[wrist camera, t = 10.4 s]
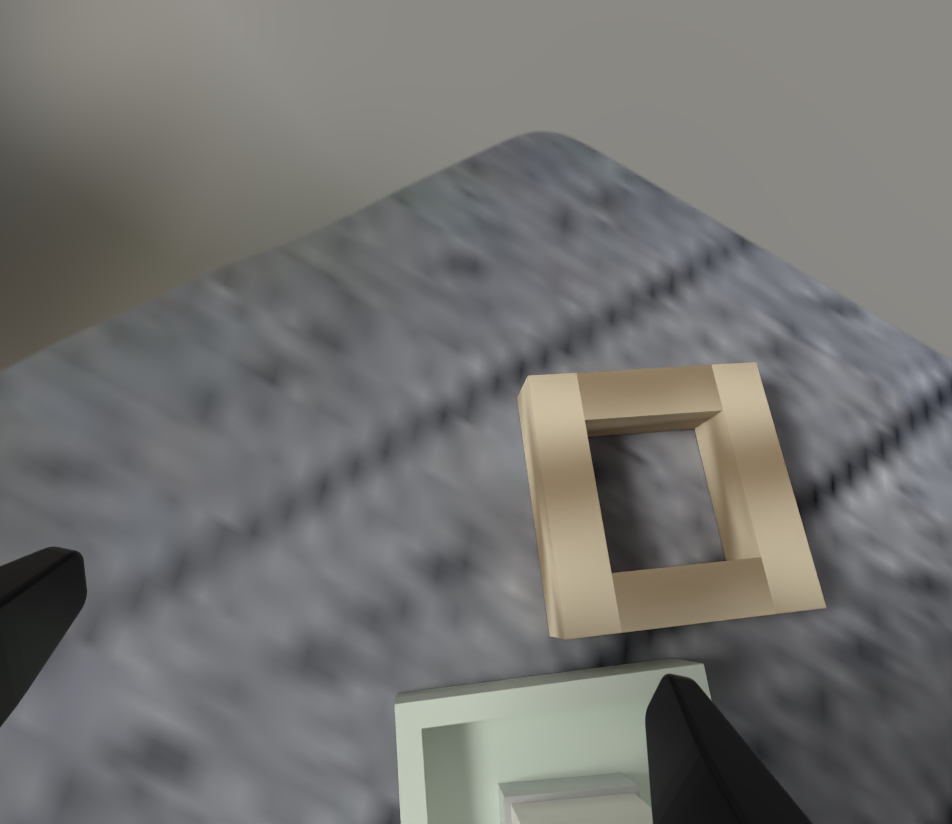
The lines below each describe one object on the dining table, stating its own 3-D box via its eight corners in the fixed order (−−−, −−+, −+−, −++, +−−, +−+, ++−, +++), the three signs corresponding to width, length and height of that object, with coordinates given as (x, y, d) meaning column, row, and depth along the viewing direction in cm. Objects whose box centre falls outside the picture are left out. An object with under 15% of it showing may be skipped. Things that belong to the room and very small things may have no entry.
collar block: (784, 608, 23) (826, 607, 21) (549, 636, 22) (566, 639, 19) (725, 384, 26) (755, 362, 24) (517, 397, 25) (527, 375, 22)
